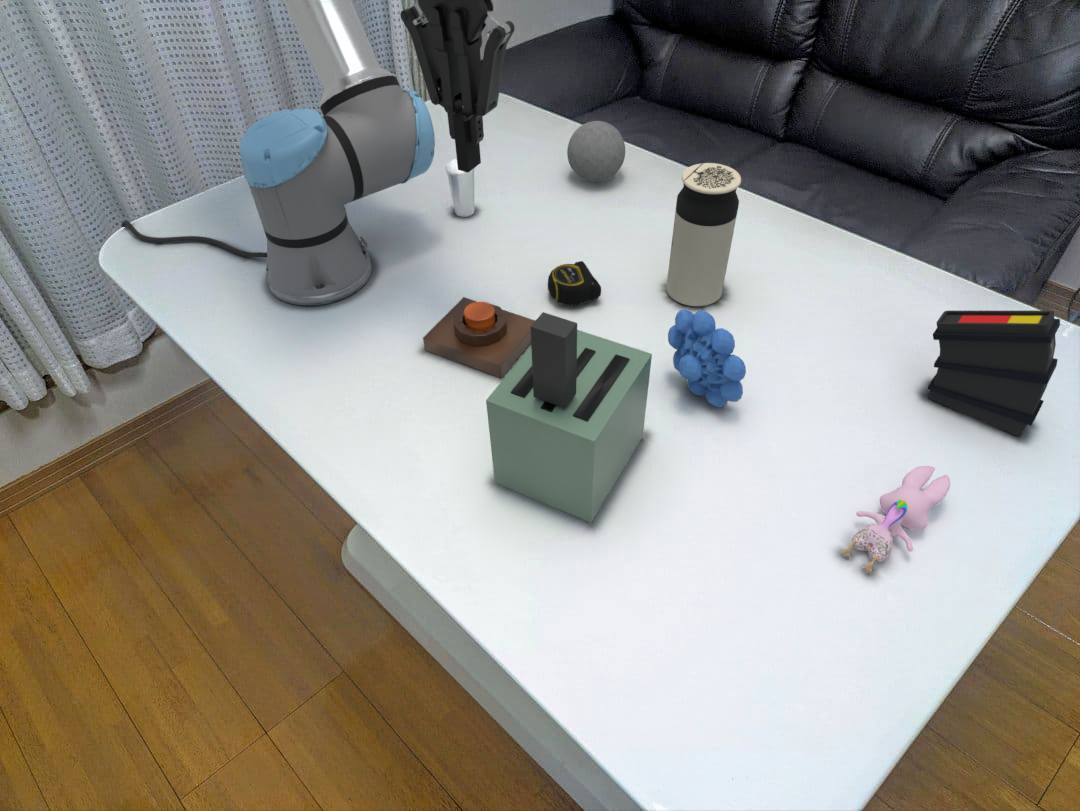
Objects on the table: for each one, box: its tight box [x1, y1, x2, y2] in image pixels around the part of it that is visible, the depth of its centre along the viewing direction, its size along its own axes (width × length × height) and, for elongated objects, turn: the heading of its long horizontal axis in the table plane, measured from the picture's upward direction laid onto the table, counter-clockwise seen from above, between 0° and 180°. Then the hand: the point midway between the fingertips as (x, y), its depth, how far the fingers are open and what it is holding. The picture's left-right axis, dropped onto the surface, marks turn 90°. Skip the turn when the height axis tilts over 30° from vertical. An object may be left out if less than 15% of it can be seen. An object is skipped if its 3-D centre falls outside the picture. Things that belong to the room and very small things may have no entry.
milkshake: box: [445, 157, 476, 218], centre depth 119 cm, size 4×5×10 cm
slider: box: [530, 311, 578, 408], centre depth 69 cm, size 4×2×9 cm, turn 61°
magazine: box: [926, 310, 1061, 437], centre depth 84 cm, size 4×13×15 cm, turn 50°
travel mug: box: [665, 162, 742, 307], centre depth 100 cm, size 8×8×18 cm
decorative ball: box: [566, 120, 626, 183], centre depth 126 cm, size 10×10×10 cm
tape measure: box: [547, 260, 602, 306], centre depth 105 cm, size 7×7×4 cm
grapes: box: [667, 309, 747, 408], centre depth 87 cm, size 12×7×12 cm, turn 39°
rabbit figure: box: [841, 465, 951, 575], centre depth 75 cm, size 6×6×15 cm
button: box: [464, 301, 495, 330], centre depth 96 cm, size 4×4×2 cm
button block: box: [422, 296, 536, 379], centre depth 98 cm, size 12×10×4 cm
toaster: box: [485, 329, 653, 523], centre depth 80 cm, size 12×14×13 cm
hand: (469, 166), depth 87 cm, fingers closed
